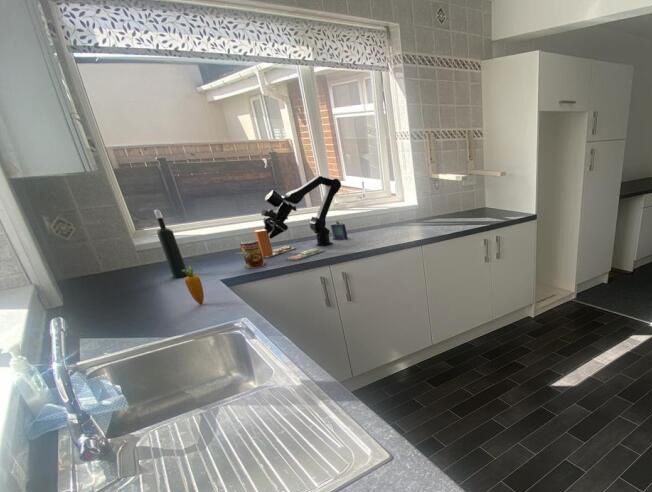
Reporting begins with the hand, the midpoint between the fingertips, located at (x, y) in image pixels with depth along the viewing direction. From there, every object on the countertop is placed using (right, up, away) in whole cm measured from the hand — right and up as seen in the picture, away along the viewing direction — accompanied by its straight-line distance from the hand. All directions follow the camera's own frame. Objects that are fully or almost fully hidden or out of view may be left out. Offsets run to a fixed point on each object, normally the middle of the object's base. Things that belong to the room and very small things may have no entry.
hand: (266, 236), depth 223 cm
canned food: (+2, -18, -14) cm, 23 cm away
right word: (+20, -9, +2) cm, 22 cm away
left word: (+1, -7, +9) cm, 11 cm away
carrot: (+9, -41, -62) cm, 75 cm away
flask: (+26, +7, +37) cm, 45 cm away
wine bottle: (-25, -25, -27) cm, 45 cm away
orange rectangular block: (-1, -9, +3) cm, 9 cm away
